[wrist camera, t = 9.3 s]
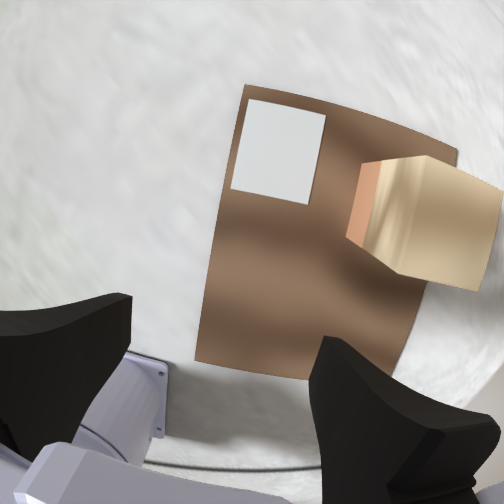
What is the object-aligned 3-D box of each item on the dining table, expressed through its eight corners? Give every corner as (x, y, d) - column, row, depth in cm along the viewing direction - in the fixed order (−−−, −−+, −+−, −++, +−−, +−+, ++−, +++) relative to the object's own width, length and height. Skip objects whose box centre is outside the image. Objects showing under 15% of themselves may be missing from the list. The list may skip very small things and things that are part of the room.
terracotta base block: (408, 251, 20) (431, 264, 17) (345, 236, 20) (361, 248, 16) (424, 183, 19) (450, 185, 15) (361, 163, 19) (381, 160, 15)
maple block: (431, 264, 17) (478, 291, 12) (361, 247, 16) (398, 273, 12) (450, 185, 15) (503, 191, 11) (381, 160, 15) (426, 155, 10)
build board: (383, 384, 23) (385, 387, 23) (195, 357, 23) (193, 361, 22) (454, 149, 18) (457, 148, 18) (244, 86, 18) (244, 83, 18)
